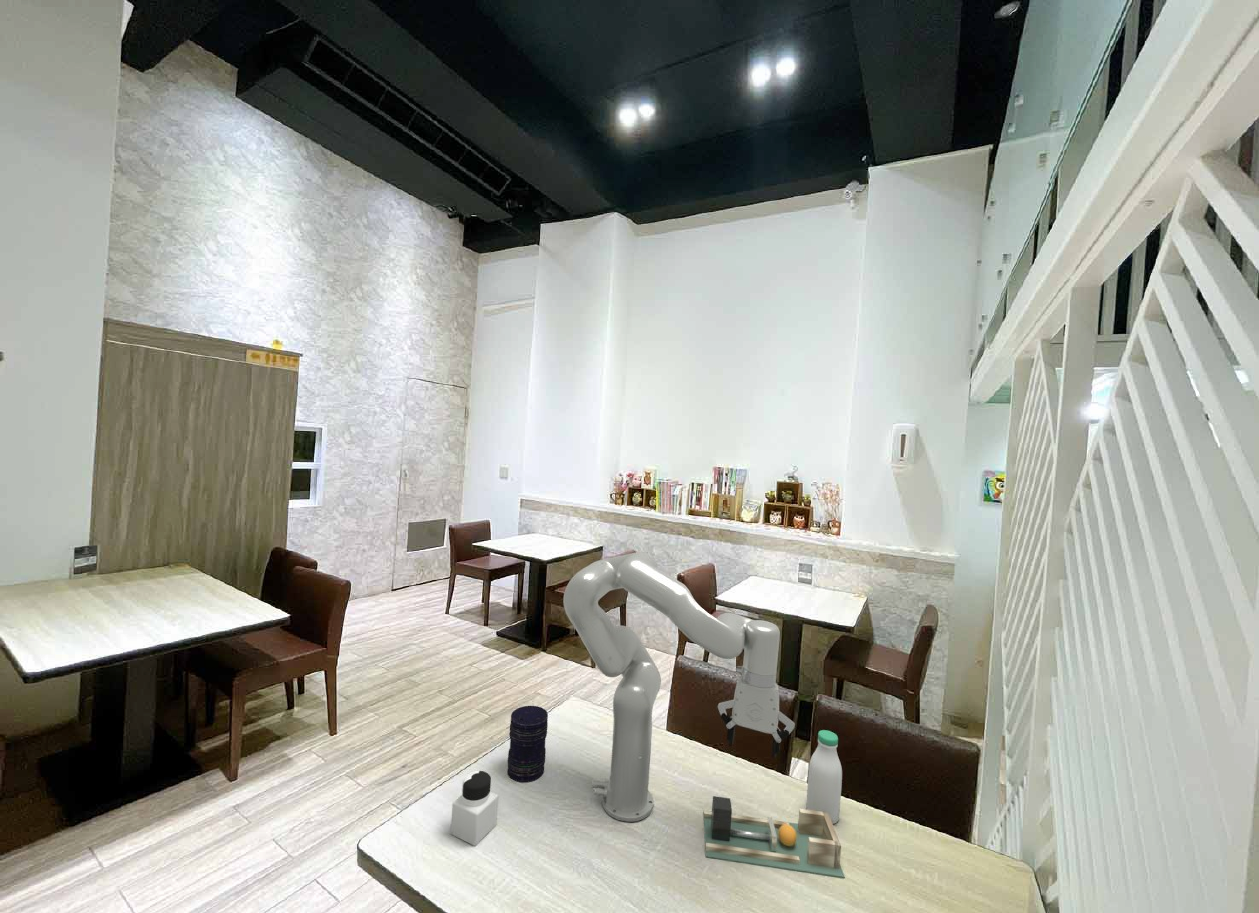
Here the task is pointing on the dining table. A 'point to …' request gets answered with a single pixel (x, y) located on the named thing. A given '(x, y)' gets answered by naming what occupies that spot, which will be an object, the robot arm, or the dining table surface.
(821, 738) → the milk bottle
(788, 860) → the rails
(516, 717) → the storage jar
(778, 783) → the dining table surface
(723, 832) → the kicker
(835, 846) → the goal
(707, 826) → the mat
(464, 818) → the medicine bottle
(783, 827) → the ball
